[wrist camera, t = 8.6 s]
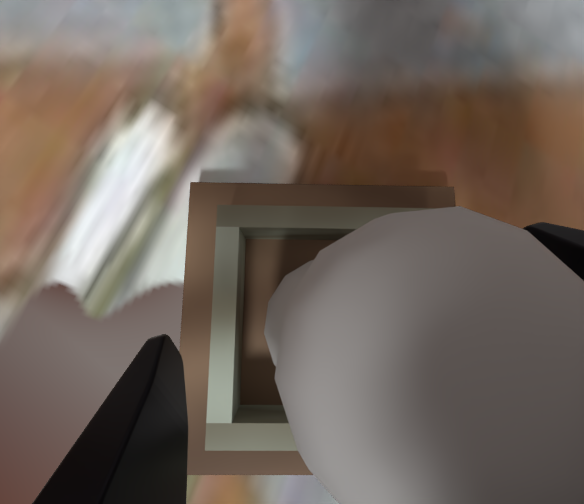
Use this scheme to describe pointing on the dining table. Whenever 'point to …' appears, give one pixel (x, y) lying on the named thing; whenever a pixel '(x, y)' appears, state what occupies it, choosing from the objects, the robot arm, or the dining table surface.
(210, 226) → the stand
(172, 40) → the dining table surface
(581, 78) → the dining table surface
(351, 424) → the salt shaker
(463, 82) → the dining table surface
